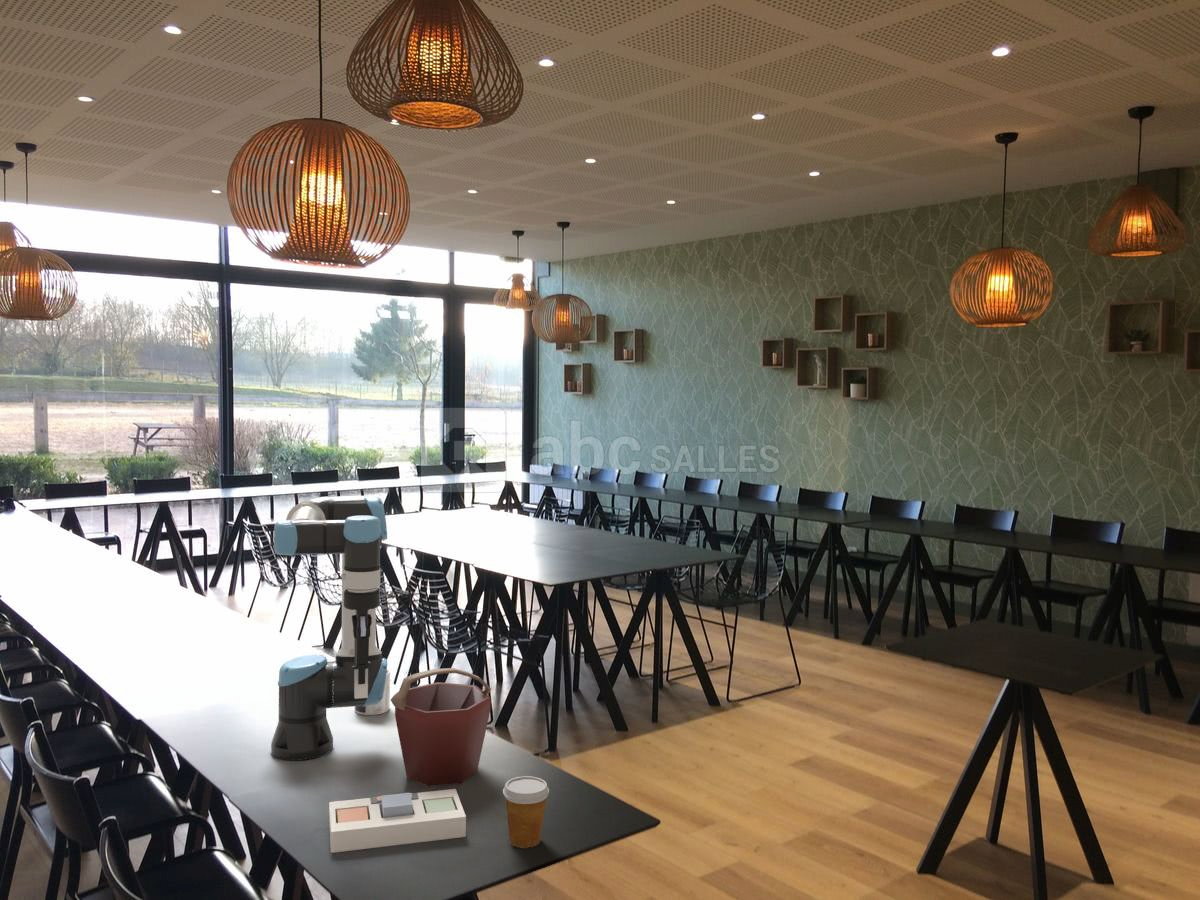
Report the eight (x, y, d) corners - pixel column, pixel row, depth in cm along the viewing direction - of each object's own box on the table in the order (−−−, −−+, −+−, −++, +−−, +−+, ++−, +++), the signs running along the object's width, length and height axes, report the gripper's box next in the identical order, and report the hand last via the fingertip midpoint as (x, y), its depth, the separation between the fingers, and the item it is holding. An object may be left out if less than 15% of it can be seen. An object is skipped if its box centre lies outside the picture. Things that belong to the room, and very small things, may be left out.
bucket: (391, 794, 215) (392, 687, 214) (386, 757, 236) (387, 659, 235) (497, 785, 222) (499, 681, 220) (483, 749, 243) (485, 654, 241)
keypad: (329, 821, 201) (329, 800, 201) (455, 807, 209) (455, 786, 209) (330, 852, 188) (331, 829, 188) (465, 836, 196) (466, 814, 196)
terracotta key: (337, 821, 198) (337, 810, 198) (366, 818, 199) (366, 806, 199) (338, 834, 192) (338, 822, 192) (368, 831, 194) (368, 819, 194)
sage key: (423, 812, 203) (423, 800, 203) (451, 809, 205) (451, 797, 205) (427, 824, 197) (427, 812, 197) (455, 821, 199) (455, 809, 199)
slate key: (380, 807, 200) (381, 795, 200) (409, 803, 202) (409, 792, 202) (383, 819, 195) (383, 807, 194) (412, 816, 196) (412, 804, 196)
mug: (396, 705, 275) (396, 667, 275) (383, 719, 263) (383, 680, 263) (361, 703, 276) (361, 666, 276) (346, 717, 264) (346, 678, 264)
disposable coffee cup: (548, 830, 200) (549, 775, 199) (547, 852, 190) (548, 794, 189) (503, 830, 199) (504, 775, 198) (500, 852, 190) (501, 794, 189)
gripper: (342, 583, 206) (341, 688, 207) (344, 596, 193) (344, 708, 195) (377, 581, 208) (376, 686, 210) (382, 594, 196) (381, 705, 197)
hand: (361, 697), depth 202 cm, fingers closed
